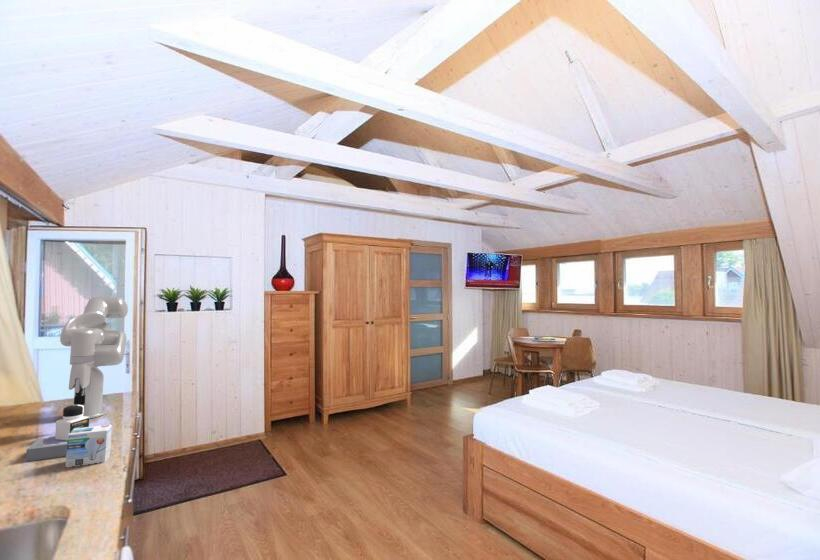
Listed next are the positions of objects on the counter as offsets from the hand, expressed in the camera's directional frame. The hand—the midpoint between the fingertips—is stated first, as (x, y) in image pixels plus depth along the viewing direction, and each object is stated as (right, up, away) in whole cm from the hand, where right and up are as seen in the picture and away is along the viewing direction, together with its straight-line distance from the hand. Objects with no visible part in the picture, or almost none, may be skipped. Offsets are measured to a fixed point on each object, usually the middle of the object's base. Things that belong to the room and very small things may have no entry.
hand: (79, 405), depth 156 cm
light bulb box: (+27, -10, -27) cm, 40 cm away
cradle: (+11, -10, -21) cm, 26 cm away
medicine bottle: (+3, -10, -7) cm, 13 cm away
